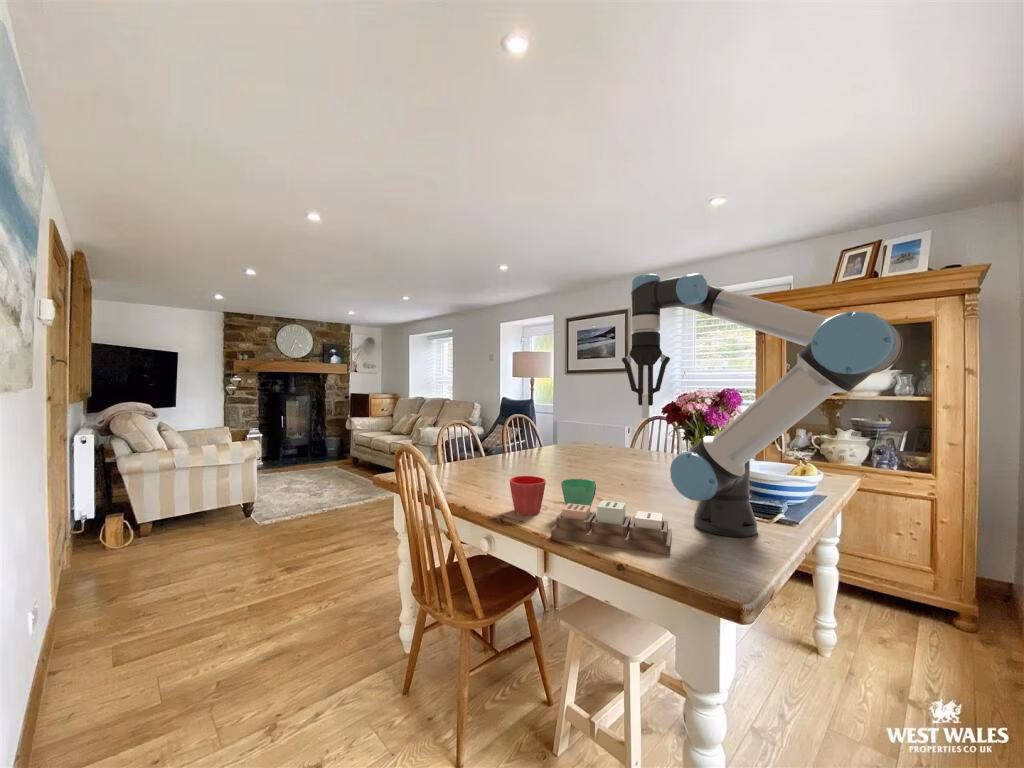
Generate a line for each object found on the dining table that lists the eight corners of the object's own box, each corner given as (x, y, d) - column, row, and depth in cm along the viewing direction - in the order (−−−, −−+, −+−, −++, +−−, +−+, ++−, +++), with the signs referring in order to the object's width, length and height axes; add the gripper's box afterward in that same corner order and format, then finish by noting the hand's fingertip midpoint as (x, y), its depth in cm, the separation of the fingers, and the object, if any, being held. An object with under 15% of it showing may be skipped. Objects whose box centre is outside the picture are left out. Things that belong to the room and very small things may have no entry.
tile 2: (625, 518, 108) (625, 502, 108) (622, 525, 102) (622, 508, 102) (601, 515, 110) (601, 499, 110) (597, 522, 104) (597, 506, 104)
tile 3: (590, 520, 111) (590, 505, 111) (585, 527, 105) (585, 511, 105) (568, 518, 113) (568, 502, 113) (562, 524, 108) (562, 508, 108)
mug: (586, 524, 115) (586, 488, 115) (555, 518, 121) (555, 483, 121) (607, 511, 127) (607, 478, 127) (578, 506, 133) (578, 474, 133)
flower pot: (546, 517, 122) (546, 483, 122) (509, 517, 122) (509, 483, 122) (544, 506, 133) (544, 475, 133) (509, 506, 133) (509, 475, 133)
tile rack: (671, 537, 106) (671, 519, 106) (670, 554, 95) (670, 534, 95) (563, 522, 117) (564, 506, 117) (551, 537, 106) (551, 519, 106)
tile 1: (662, 529, 104) (662, 513, 104) (661, 538, 99) (661, 520, 99) (637, 526, 106) (637, 510, 106) (634, 534, 101) (634, 517, 101)
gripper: (671, 332, 117) (671, 417, 117) (623, 334, 122) (623, 415, 122) (670, 329, 110) (670, 419, 110) (619, 331, 115) (619, 417, 115)
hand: (645, 417), depth 116 cm, fingers closed
